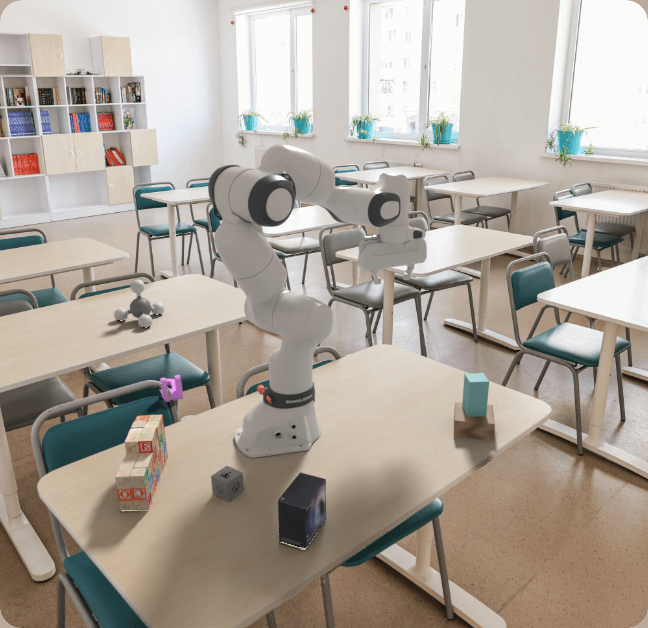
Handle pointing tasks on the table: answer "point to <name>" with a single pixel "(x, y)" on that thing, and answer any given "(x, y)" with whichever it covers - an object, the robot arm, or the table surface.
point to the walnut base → (474, 424)
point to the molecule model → (140, 307)
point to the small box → (302, 510)
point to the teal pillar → (475, 394)
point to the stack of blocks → (142, 463)
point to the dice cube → (227, 483)
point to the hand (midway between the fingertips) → (392, 281)
